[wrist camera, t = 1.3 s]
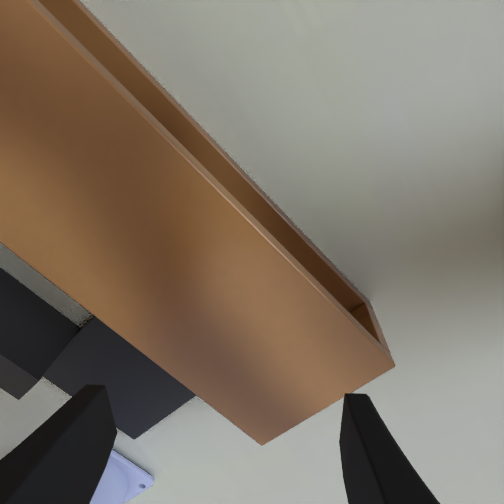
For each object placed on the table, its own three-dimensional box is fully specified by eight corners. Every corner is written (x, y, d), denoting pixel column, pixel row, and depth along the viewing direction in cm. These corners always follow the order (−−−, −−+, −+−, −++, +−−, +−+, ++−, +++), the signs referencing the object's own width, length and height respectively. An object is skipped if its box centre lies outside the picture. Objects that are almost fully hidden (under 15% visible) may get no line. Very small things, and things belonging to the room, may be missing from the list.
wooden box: (265, 375, 23) (261, 446, 19) (-96, 67, 17) (-230, 64, 13) (371, 303, 21) (396, 366, 16) (-12, -95, 14) (-144, -172, 10)
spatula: (137, 432, 27) (111, 495, 23) (-138, 240, 21) (-234, 278, 17) (204, 384, 24) (189, 445, 20) (-87, 153, 19) (-184, 174, 15)
